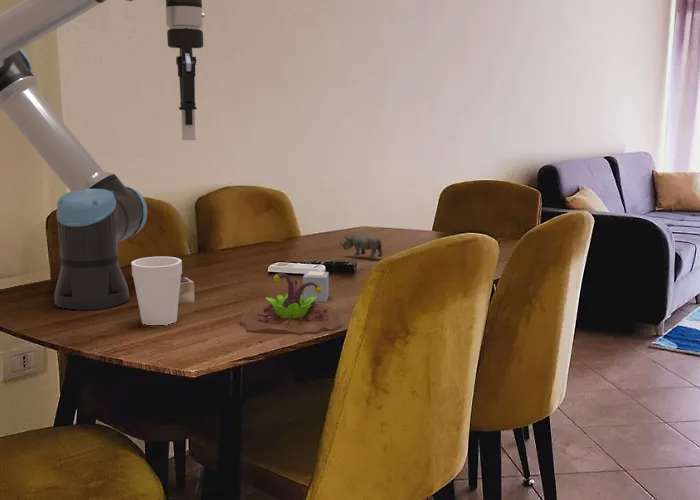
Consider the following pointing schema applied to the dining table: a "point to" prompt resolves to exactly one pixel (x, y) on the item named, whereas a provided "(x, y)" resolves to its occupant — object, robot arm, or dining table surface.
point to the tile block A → (186, 291)
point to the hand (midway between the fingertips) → (189, 139)
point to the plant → (291, 313)
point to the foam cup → (157, 288)
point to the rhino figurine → (363, 244)
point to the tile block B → (309, 290)
